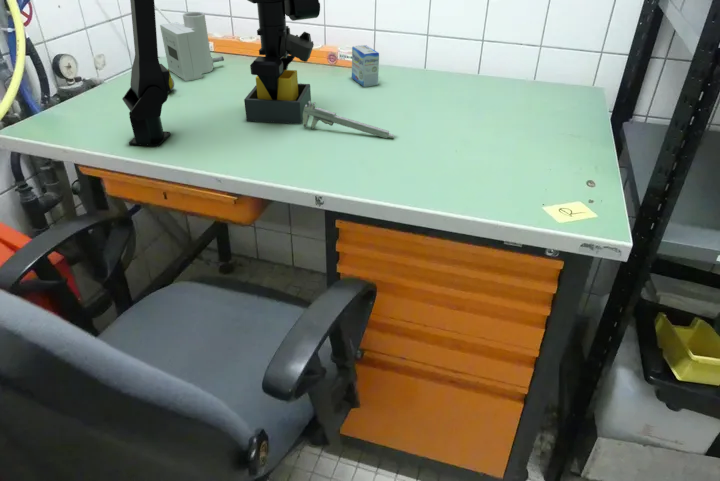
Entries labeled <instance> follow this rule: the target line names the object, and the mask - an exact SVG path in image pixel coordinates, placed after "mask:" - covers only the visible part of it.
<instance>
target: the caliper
mask: <svg viewBox="0 0 720 481" xmlns="http://www.w3.org/2000/svg"><path fill="white" fill-rule="evenodd" d="M315 105H316V101H314V102H313V103H312V100H311V101H309V102H308V105H305V107H304V111H303V121H302V124H303V127H304V128H305V129H306V128H307V127H308V123H309V119H310V117H312V120H311V124H310V125H311V127H310V130H314V129H315V127H316V126H317V124H318V122H319V121H321V122H322V123H324V125H325V124H326V125H329V126H333V125H334V124H336V125H339V126H343V127H347V128H350V129H354V130H357V131H360V132H364V133H367V134H370V135H373V136H377V137H379V138H382V139H383V138H384V139H388V138H390V139H394V137H395V135H394V133H391V132H390V131H389V130H388V129H384V128H381V127H377V126H374V125H370V124H367V123H364V122H361V121H358V120H354V119H350V118H347V117H344V116H340V115H337V113H336V112H333V111H331V110H327V109H324V108H320V107H317V106H316V107H315Z"/></svg>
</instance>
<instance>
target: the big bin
mask: <svg viewBox="0 0 720 481" xmlns="http://www.w3.org/2000/svg"><path fill="white" fill-rule="evenodd" d="M311 94H312V92H311V84H310V83H298V95H299V96H298V97H297V99H296V101H288V100H268V99H258V96H257V87H256V85H254V87H253V88H252V90H251V91H249V92H248V94H247V95H246V97H245V98H244V99H243V102H244V112H245V118H246V122H254V123H255V122H256V123H275V124H290V125H291V124H294V125H301V124H303V111H304V107H305V105H308V102H309V101H311V102H312V95H311Z"/></svg>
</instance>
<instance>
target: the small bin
mask: <svg viewBox="0 0 720 481" xmlns="http://www.w3.org/2000/svg"><path fill="white" fill-rule="evenodd" d="M298 84H299V80H298V70H297V69H287V70H285V71H284V73H283V74H282V75H281V76H280V77H279V83H278V96H277V100H288V101H296V99H297V97H298V96H299V95H298ZM255 86H256V87H257V96H258V99H268V100H273V99H272V98H271V97H270V95H269V93H268V91H267V90H266V88H265V86H264V85H263V83H262V81H261V80H260V78H259V77H258V75H256V76H255Z"/></svg>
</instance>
